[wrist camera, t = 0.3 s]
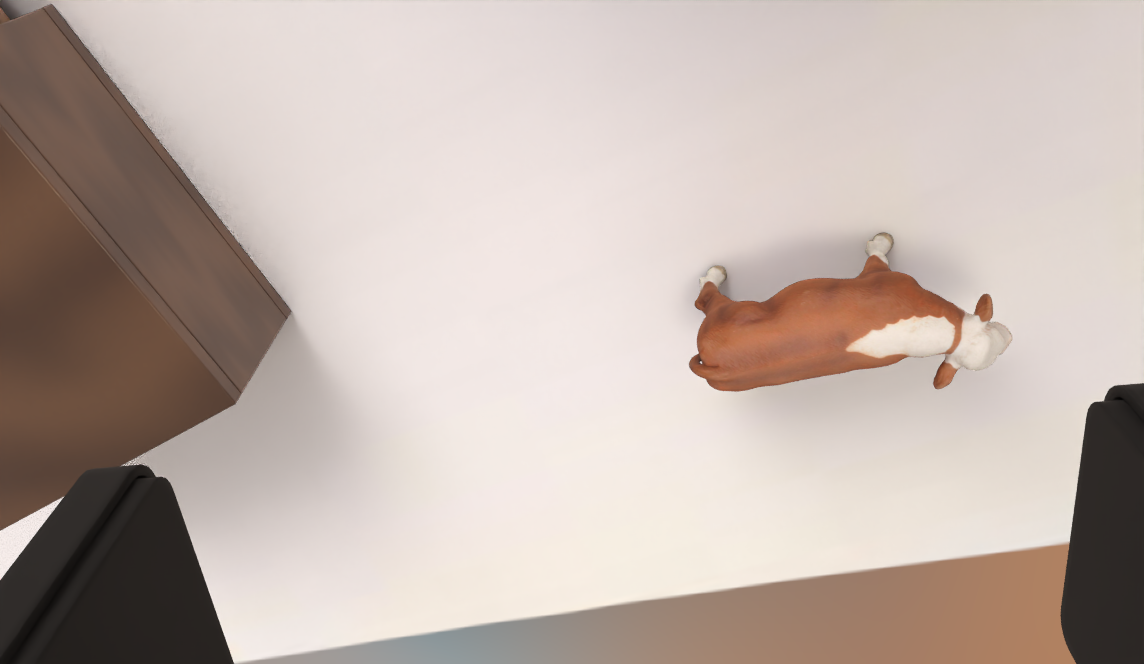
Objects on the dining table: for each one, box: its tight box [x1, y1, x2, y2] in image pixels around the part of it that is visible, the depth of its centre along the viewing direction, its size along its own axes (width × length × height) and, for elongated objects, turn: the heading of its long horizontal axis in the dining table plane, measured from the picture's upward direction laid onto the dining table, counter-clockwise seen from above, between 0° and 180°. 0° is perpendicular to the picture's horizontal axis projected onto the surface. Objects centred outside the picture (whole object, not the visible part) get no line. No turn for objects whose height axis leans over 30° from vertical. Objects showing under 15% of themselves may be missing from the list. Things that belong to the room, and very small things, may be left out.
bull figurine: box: [689, 233, 1012, 391], centre depth 45 cm, size 4×13×8 cm, turn 98°
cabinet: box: [0, 4, 291, 531], centre depth 45 cm, size 17×14×9 cm
